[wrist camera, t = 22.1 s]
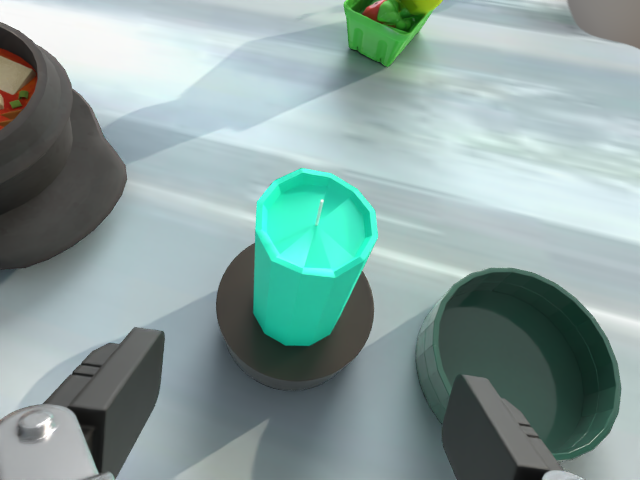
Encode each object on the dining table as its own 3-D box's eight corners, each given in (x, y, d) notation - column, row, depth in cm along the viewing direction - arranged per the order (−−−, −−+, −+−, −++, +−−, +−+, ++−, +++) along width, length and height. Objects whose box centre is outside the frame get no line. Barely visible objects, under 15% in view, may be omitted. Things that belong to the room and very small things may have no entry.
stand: (333, 245, 38) (342, 219, 35) (383, 368, 34) (398, 352, 30) (204, 277, 35) (200, 252, 32) (240, 416, 31) (239, 404, 27)
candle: (243, 272, 31) (241, 158, 21) (326, 256, 33) (362, 141, 23) (263, 357, 29) (272, 273, 18) (353, 335, 30) (407, 245, 20)
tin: (525, 271, 39) (551, 250, 36) (620, 428, 34) (660, 419, 30) (388, 312, 36) (402, 292, 33) (467, 496, 30) (494, 494, 27)
